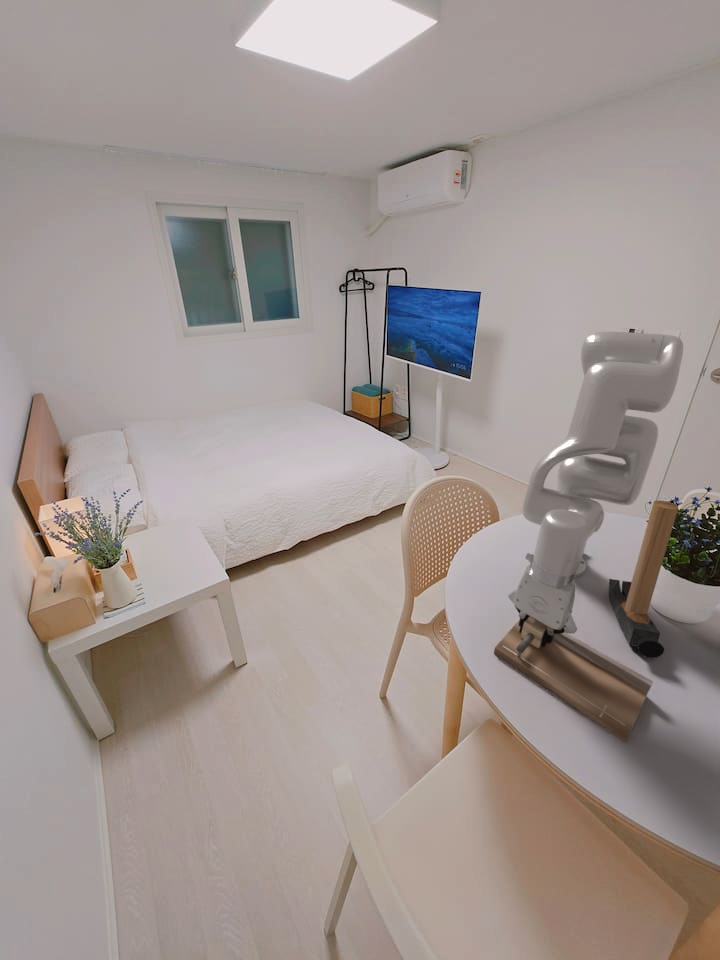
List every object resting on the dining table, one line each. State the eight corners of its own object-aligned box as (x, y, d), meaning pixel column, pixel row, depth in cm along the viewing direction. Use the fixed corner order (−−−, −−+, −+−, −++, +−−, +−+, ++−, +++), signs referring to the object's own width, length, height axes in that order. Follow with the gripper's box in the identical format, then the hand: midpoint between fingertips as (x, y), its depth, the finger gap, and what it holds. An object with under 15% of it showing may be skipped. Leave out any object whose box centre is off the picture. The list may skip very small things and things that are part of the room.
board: (520, 621, 92) (524, 608, 90) (645, 695, 76) (653, 681, 74) (493, 653, 85) (496, 639, 83) (625, 742, 68) (633, 727, 66)
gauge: (529, 625, 88) (533, 611, 86) (547, 636, 86) (552, 621, 84) (509, 650, 83) (512, 635, 81) (527, 663, 80) (531, 647, 78)
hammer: (603, 599, 100) (632, 486, 91) (626, 603, 99) (657, 489, 90) (634, 655, 82) (674, 521, 73) (662, 660, 81) (706, 524, 71)
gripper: (502, 559, 80) (489, 623, 89) (591, 603, 69) (567, 672, 78) (520, 543, 85) (506, 606, 93) (606, 582, 74) (581, 649, 83)
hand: (534, 635), depth 86 cm, fingers closed on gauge, 4 cm apart
